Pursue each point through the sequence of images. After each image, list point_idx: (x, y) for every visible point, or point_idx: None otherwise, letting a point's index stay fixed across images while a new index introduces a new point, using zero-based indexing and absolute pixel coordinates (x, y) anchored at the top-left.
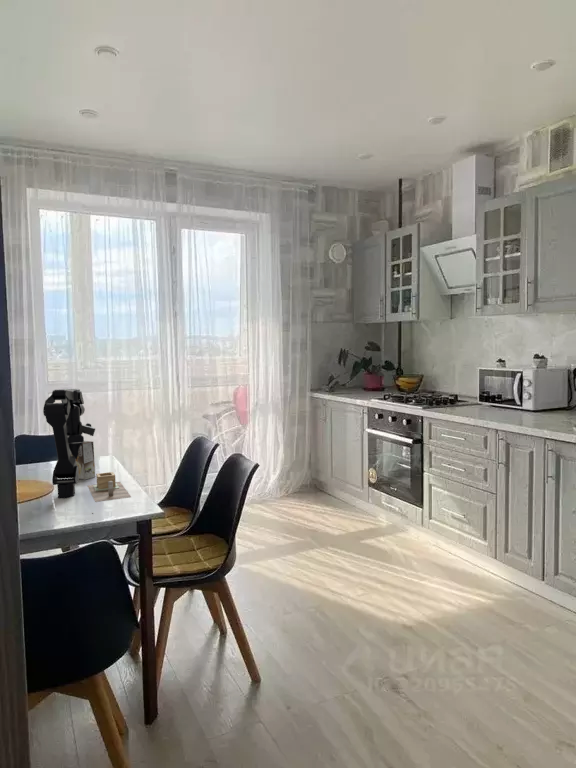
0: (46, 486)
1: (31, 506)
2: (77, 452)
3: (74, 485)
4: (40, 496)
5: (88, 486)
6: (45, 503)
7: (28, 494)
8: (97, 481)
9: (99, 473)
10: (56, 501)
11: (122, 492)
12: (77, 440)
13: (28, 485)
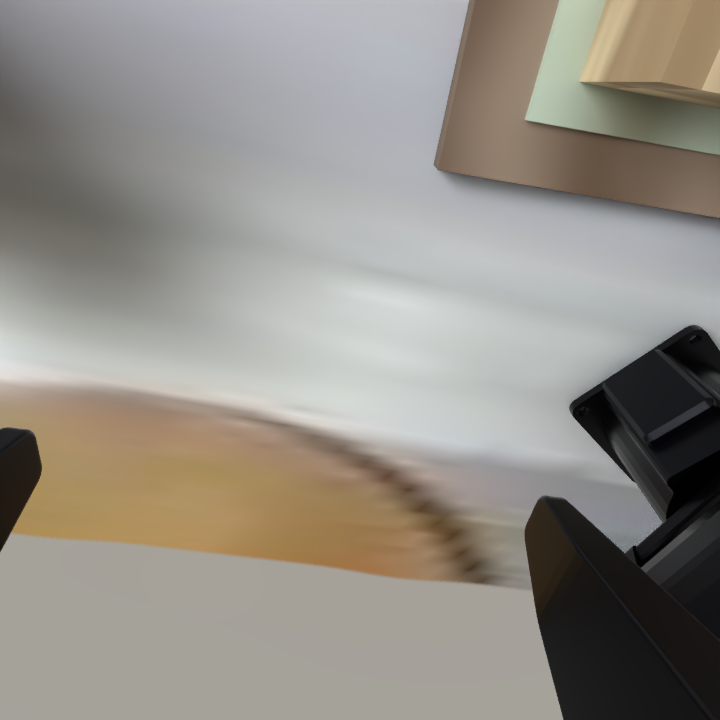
0: (112, 435)
1: None
2: (698, 642)
3: (712, 398)
4: (420, 513)
5: (488, 171)
6: (638, 521)
7: (306, 551)
8: (713, 101)
9: (697, 21)
10: None
11: None
12: None
13: None
